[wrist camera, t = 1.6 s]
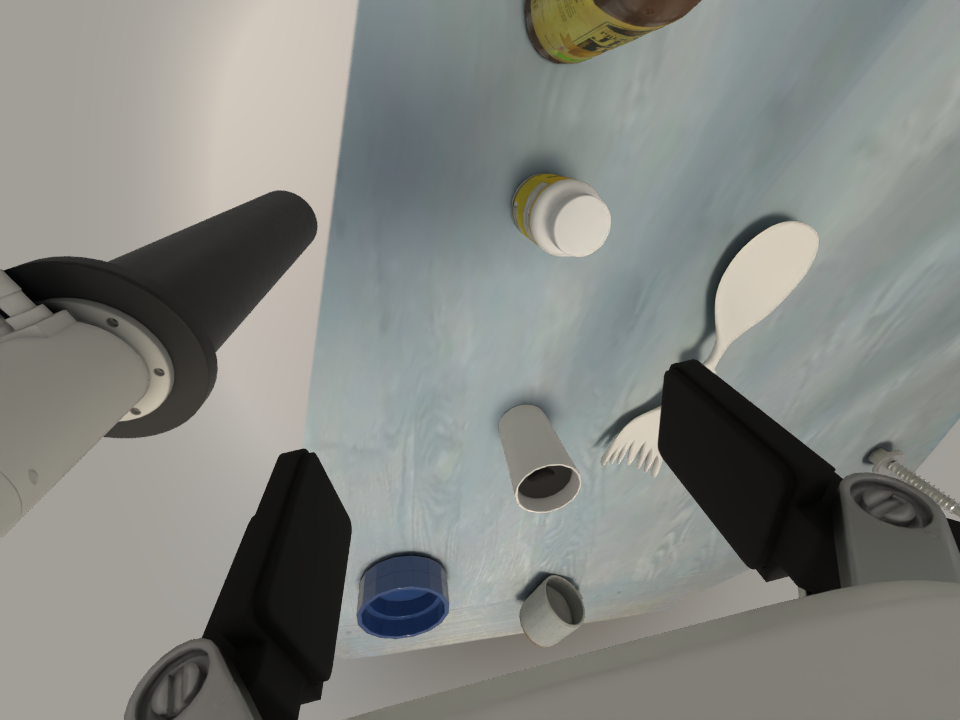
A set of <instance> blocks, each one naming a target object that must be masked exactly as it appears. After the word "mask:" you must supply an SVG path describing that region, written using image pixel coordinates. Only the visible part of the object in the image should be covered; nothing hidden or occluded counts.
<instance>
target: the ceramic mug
mask: <svg viewBox="0 0 960 720" xmlns="http://www.w3.org/2000/svg"><path fill="white" fill-rule="evenodd" d="M584 618H585V609H584V605H583V602H582V596H581V594H580V593H579V591H578V590H577V589H575V588H574V587H573V585H572V584H571V583H570V582H568V581H567V580H566V579H564V578H563V577H560V576H557V575H551V576H548V577H547V578H546V579H545V580H544V581H543V582H542V583H541V584H540V585H539V586H538V587H537V588H536V589H535V591H534V592H533V593H532V594H531V595H530V596H529V597H528V598H527V599H526V600H525V601H524V603H523V604H522V607H521V609H520V622H521V626H522V628H523V631H524V633H525V634H526V636H527V637H528V638H529V639H530V640H531V641H532V642H533V643H534V644H535V645H537V646H540V647H549V646H552V645H554V644H556V643H557V642H559V641H560V640H561V639H562V638H564V637H565V636H567V635H568V634H570V633H571V632H573V631H574V630H575V629H577V628H578V627H579V626H580V625H581V624H582V623H583V621H584Z"/></svg>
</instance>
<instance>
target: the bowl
mask: <svg viewBox="0 0 960 720" xmlns="http://www.w3.org/2000/svg"><path fill="white" fill-rule="evenodd" d="M448 613H449V597H448V586H447V575H446V572H445V570H444V569H443V568H442V566H441V565H440V564H439V563H437V562H435V561H433V560H431V559H429V558H425V557H418V556H401V557H393V558H391V559H388V560H385V561H382V562H380V563H378V564H376V565H375V566H373V567H372V568H371V569H369V570H368V571H367V572H365V574H364V576H363V578H362V580H361V582H360V586H359V596H358V605H357V621H358V625H359V626H360V627H361V628H362V629H363V630H364V631H365V632H366V633H368V634H371V635H374V636H376V637H379V638H391V639H399V638H406V637H413V636H416V635H419V634H422V633H425V632H428V631H430V630H432V629H433V628H435V627H436V626H438V625H439V624H441V623H442V622H443V620H444V619H445V617H446V616H447V615H448Z"/></svg>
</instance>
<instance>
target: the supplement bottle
mask: <svg viewBox="0 0 960 720" xmlns="http://www.w3.org/2000/svg"><path fill="white" fill-rule="evenodd" d="M511 211H512V217H513V221H514V223H515V225H516V227H517V228H518V229H519V230H520V232H521V233H523V234H524V235H525V236H526V237H528V238H529V239H530V240H531V241H533V242H534V243H535V244H536V245H538V246H539V247H540V248H541V249H543V250H544V251H545V252H547V253H549V254H551V255H554V256H558V257H568V256H573V257H582V256H586V255H589V254H591V253H593V252H595V251H596V250H597V249H598V248H599V247H600V246H601V245H602V244H603V243H604V241H605V240H606V238H607V236H608V234H609V231H610V226H611V217H610V212H609V210H608V208H607V206H606V204H605V203H604V202H603V201H602V200H600V198H599V196H598V194H597V193H596V191H595V190H594V189H593V188H592V187H591V186H590V185H588V184H587V183H585V182H582V181H580V180H576V179H572V178H567V177H563V176H559V175H555V174H549V173H540V174H536V175H533V176H531V177H529V178H528V179H526V180H525V181H524V182H523V183H522V184H521V185H520V186H519V187H518V189H517V191H516V192H515V194H514V197H513V200H512V207H511Z"/></svg>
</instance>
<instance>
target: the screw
mask: <svg viewBox="0 0 960 720" xmlns="http://www.w3.org/2000/svg"><path fill="white" fill-rule="evenodd" d="M868 460H869V461H871V462H872V463H874V466H873V468H872V471H873V473H875V474H882V475H889V474H891V473H893V474H894V475H897V477H898V478H901V480H903V481H905V482H906V483H908V484H910V485H912V486H914V487H916V488H917V489H919V490H920V491H922V492H924V493H925V494H927V495H928V496H929V497H930V498H931V499H932V500H934V501H935V502H936V503H938V505H939V506H940V507H944V510H949V512H950V513H953V514H955V515H957V516H959V517H960V503H957V502H956V501H955V499H952V498H950V496H949V495H948V496H947V495H946V494H944V492H941V491H940V490H939V489H936V488H935V485H931V484H930V482H926V481H925V479H921V478H920V476H917V475H916V473H913V472H911V470H908V469H907V467H904V466H903V464H904V463H905V461H906V454H905V453H904V452H903V451H900V450H895V451H892V452H888V451H886V450H884V449H882V448H878V449H877V450H875V451H873V452H871V454H870V455H869V457H868Z"/></svg>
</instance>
